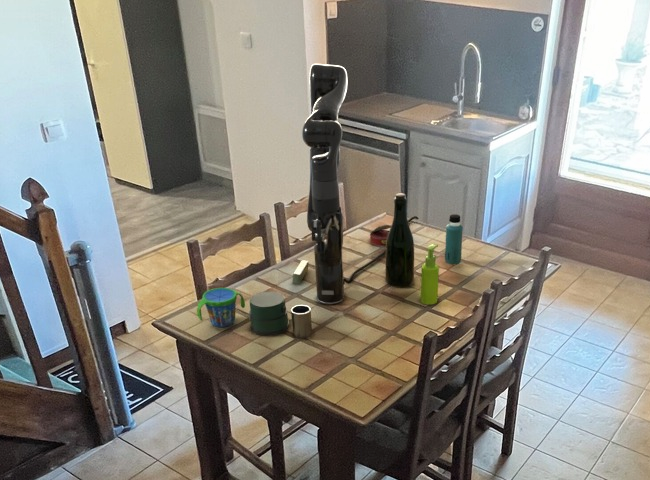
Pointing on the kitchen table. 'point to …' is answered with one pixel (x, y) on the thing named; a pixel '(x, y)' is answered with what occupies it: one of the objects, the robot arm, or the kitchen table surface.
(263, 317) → the green lidded canister
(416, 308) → the kitchen table surface
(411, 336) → the kitchen table surface
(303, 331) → the tumbler
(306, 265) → the medication box
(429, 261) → the soap dispenser
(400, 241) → the wine bottle
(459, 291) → the kitchen table surface
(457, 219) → the beverage bottle
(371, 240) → the canned food
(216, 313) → the snack cup
